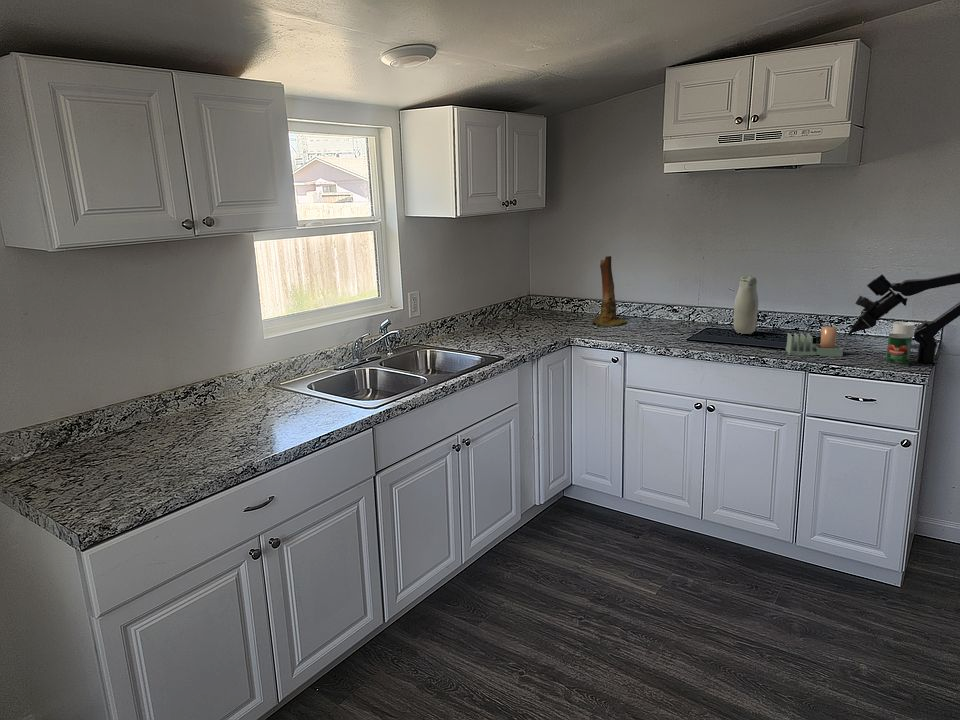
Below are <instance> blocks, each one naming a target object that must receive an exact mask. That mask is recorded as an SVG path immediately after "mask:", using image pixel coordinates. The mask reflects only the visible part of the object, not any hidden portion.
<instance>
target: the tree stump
mask: <svg viewBox="0 0 960 720" xmlns="http://www.w3.org/2000/svg"><path fill="white" fill-rule="evenodd" d="M599 268H600V274H601V285H602V286H601V287H602V289H601V290H602V291H601V293H602V302H601V304H600V315H599V316H597V317H595V318H593V319H592V324H595V326H599V327H614V326H622V325H624V324H628V320H626V319H623V318H620V317H619V316H617V315H618V313H617V302H616V301H617V300H616V296H615V294H616V293H615V283H614V278H613V277H614V276H613V271H612V256H611V255H610V256H609V255H608V256H607V255H606V256H605V258H604V259H600V264H599Z"/></svg>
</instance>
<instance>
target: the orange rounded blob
mask: <svg viewBox="0 0 960 720" xmlns="http://www.w3.org/2000/svg"><path fill="white" fill-rule="evenodd" d="M837 330H838V327H836V326H829V325H828V326H827V325H825V326H824V325H823V326H822V327H821V334H820V335H821V336H820V343H819V344H820V348H825V349H835V344H837V342H836V341H837Z"/></svg>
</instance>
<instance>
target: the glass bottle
mask: <svg viewBox="0 0 960 720" xmlns="http://www.w3.org/2000/svg"><path fill="white" fill-rule="evenodd" d="M757 281H758V280H757V278H756V277H755V276H753V275H750V274H749V275H743V276H741V278H740V280H739V282H738V283H739V286H738V288H737V290H738V291H737V293H736V295H735V298H734V306H733V307H734V308H733V329H734V331H735V332H736V333H737V334H739V333H741V334H740V335H742V334H749V335H752V334H753V333H754V332H755V331H756V328H757V323H758V312H759V311H758V310H759V295H758V292H757V291H758V289H757Z"/></svg>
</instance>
